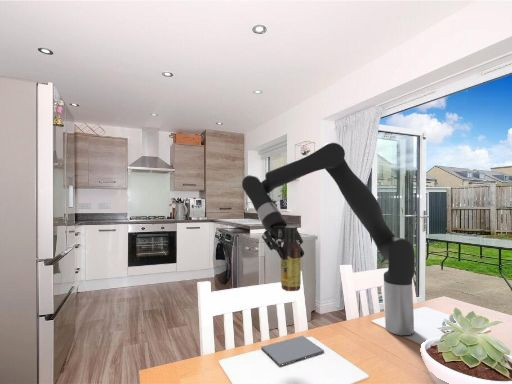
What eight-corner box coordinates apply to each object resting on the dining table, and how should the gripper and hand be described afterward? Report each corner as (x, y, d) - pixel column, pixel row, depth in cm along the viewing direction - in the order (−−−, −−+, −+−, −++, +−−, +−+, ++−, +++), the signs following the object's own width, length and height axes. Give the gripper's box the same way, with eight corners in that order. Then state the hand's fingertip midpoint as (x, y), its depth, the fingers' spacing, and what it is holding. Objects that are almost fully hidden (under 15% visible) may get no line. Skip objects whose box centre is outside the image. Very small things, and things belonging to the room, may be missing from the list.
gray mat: (302, 337, 95) (302, 335, 95) (324, 352, 85) (323, 350, 85) (261, 348, 87) (261, 346, 87) (279, 366, 78) (279, 364, 78)
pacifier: (453, 338, 93) (468, 336, 95) (452, 319, 94) (466, 317, 95) (435, 329, 101) (449, 327, 102) (434, 311, 101) (448, 309, 102)
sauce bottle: (279, 286, 90) (278, 225, 91) (298, 286, 91) (297, 225, 92) (283, 293, 84) (282, 227, 85) (303, 292, 84) (302, 227, 85)
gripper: (258, 211, 91) (281, 252, 80) (291, 210, 99) (316, 247, 88) (250, 226, 95) (270, 267, 85) (282, 224, 103) (305, 261, 92)
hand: (294, 257), depth 86 cm, fingers closed on sauce bottle, 6 cm apart
